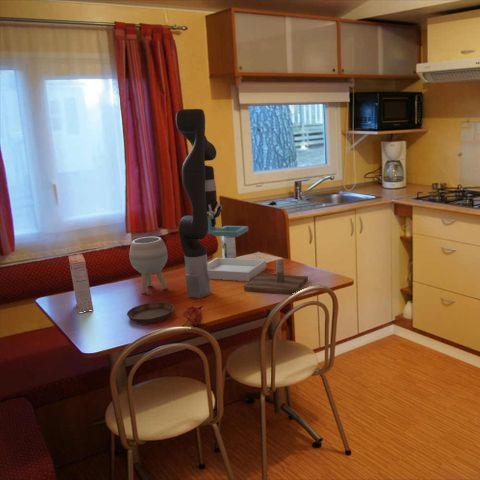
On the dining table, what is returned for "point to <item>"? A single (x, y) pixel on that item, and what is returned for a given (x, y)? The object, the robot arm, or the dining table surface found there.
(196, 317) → the pomegranate
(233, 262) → the tray
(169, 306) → the plant saucer
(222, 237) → the syrup box
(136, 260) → the planter
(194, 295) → the robot arm
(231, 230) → the teal frame with handle
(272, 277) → the stake board
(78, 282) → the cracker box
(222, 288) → the dining table surface
